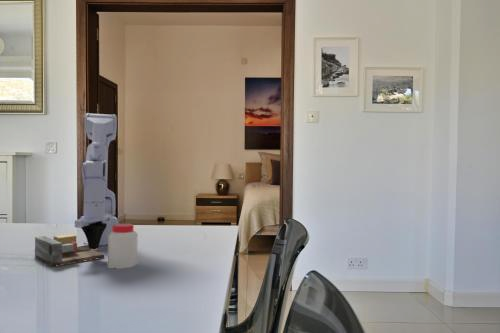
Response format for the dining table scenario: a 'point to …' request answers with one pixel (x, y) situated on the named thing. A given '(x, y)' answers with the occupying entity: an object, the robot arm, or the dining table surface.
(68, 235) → the carriage
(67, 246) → the gauge plunger
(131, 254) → the pill bottle
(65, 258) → the rail bed
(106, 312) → the dining table surface
